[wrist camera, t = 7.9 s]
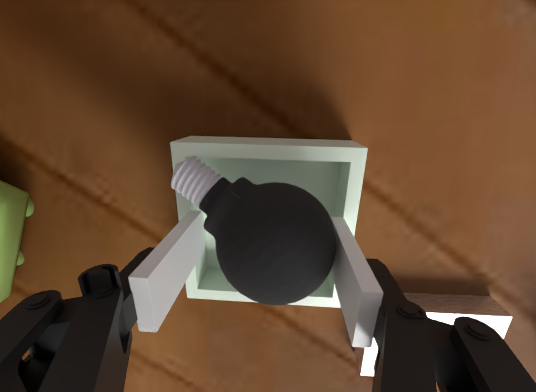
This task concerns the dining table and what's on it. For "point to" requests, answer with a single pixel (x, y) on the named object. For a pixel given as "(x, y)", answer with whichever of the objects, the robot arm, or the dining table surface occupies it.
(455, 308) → the white stone flat block
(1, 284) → the kettle
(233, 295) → the tray
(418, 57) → the dining table surface
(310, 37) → the dining table surface
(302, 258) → the light bulb
